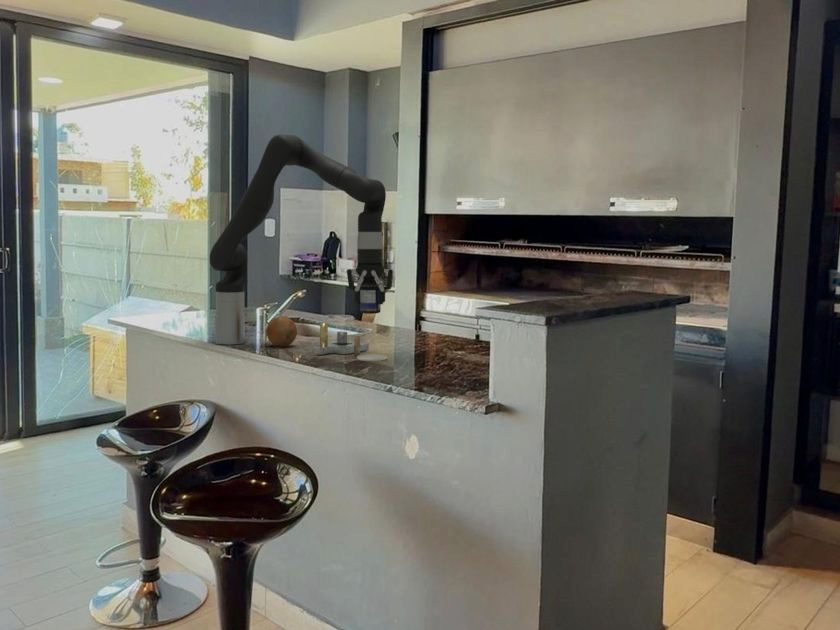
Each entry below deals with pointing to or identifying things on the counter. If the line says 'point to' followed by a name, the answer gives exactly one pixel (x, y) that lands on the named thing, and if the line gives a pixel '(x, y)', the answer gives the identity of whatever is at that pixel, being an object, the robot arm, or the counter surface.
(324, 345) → the grey plate with post
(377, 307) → the pill bottle
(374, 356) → the coaster
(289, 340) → the onion
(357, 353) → the dowel
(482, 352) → the counter surface
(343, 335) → the post
